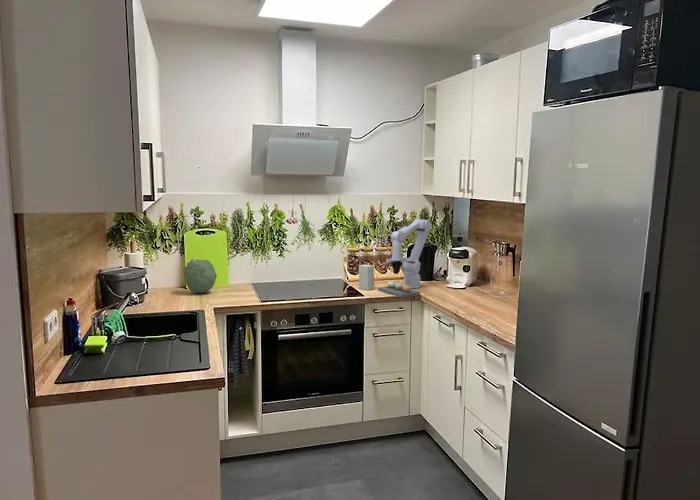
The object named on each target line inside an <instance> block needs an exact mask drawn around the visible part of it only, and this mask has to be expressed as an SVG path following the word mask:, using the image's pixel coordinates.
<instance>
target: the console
mask: <svg viewBox="0 0 700 500" xmlns="http://www.w3.org/2000/svg"><path fill="white" fill-rule="evenodd" d="M377 291H378V292H380V291H381V293H384V294H387V293H388V294H387V295H390V294H391V296H394V297H398V298H401V299H403V298H404V299H405V298H410V297H416V296H421V291H420V290H419V291H418V290H415V289H413V288H412V289H410V291H409V292H405V291H403V289H395V287H388V285H386V286H380V287H379V286H378V288H377Z"/></svg>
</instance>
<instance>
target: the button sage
mask: <svg viewBox="0 0 700 500" xmlns="http://www.w3.org/2000/svg"><path fill="white" fill-rule="evenodd" d="M403 285H404V284H403V282H402V283H401V282H395V289H403Z"/></svg>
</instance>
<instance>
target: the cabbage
mask: <svg viewBox="0 0 700 500" xmlns="http://www.w3.org/2000/svg"><path fill="white" fill-rule="evenodd" d="M182 269H183V270H182V271H183V273H184V274H183V275H182V276H183V277H184V283H185V285H186V287H187V288H188V289H189V291H191V292H192V293H196V294H206V293H207V292H209V291H210V290H212V288H213V287H214V286H215V283H216V280H217V278H218V277H217V272H216V269H215V267H214V265H213V264H212V263H211V261H209V260H207V259H204V260H202V259H190V261H189V262H187V263H186V266H184V267H182Z"/></svg>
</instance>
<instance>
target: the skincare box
mask: <svg viewBox="0 0 700 500" xmlns="http://www.w3.org/2000/svg"><path fill="white" fill-rule="evenodd" d="M358 289H360V290H366V291H371V290H375V265H371V264H365V263H364V264H360V265H358Z"/></svg>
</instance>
